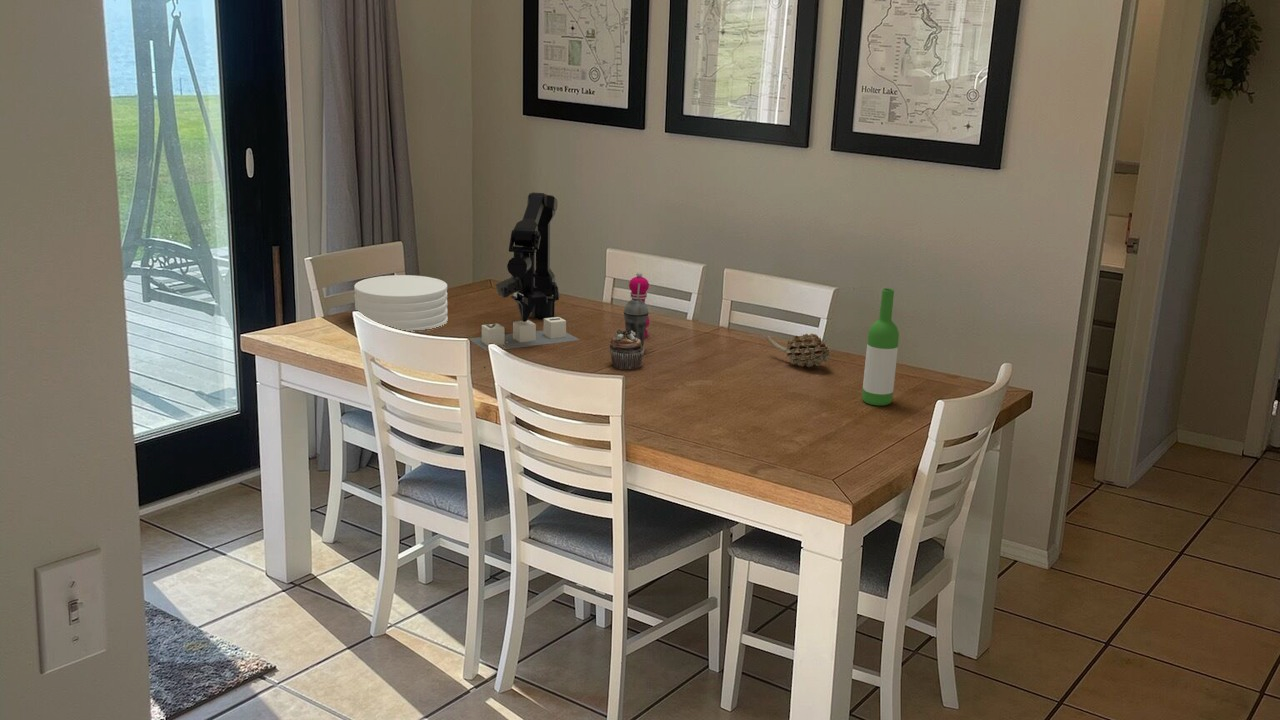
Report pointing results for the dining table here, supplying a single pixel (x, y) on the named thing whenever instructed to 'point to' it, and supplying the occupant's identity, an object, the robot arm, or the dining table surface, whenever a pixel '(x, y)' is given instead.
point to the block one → (554, 327)
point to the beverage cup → (636, 317)
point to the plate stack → (403, 301)
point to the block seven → (493, 334)
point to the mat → (514, 343)
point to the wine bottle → (881, 355)
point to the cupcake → (626, 350)
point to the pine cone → (805, 350)
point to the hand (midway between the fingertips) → (524, 321)
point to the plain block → (524, 331)
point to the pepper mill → (642, 291)
